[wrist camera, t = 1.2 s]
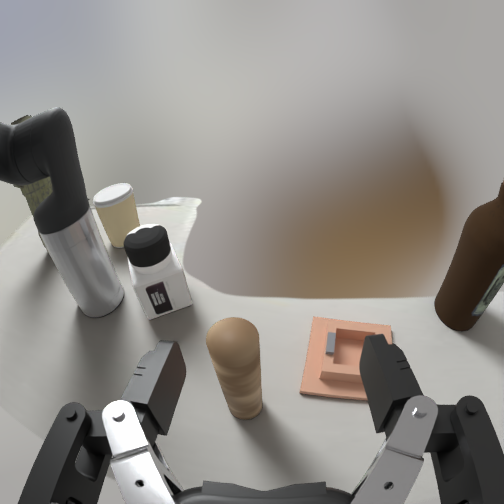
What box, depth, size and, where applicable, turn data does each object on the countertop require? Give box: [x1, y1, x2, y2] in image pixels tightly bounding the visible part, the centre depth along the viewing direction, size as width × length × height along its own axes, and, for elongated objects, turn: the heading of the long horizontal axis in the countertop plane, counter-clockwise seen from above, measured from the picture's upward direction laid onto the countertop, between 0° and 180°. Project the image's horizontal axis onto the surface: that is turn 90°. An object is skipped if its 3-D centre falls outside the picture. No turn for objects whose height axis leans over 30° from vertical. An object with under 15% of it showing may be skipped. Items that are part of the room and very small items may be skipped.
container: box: [123, 224, 192, 320], centre depth 40 cm, size 8×8×13 cm
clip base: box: [300, 317, 392, 400], centre depth 32 cm, size 12×12×4 cm
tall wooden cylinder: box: [206, 317, 262, 420], centre depth 24 cm, size 4×4×15 cm
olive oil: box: [435, 181, 504, 331], centre depth 29 cm, size 11×11×25 cm
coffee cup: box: [93, 183, 140, 248], centre depth 55 cm, size 9×9×12 cm
